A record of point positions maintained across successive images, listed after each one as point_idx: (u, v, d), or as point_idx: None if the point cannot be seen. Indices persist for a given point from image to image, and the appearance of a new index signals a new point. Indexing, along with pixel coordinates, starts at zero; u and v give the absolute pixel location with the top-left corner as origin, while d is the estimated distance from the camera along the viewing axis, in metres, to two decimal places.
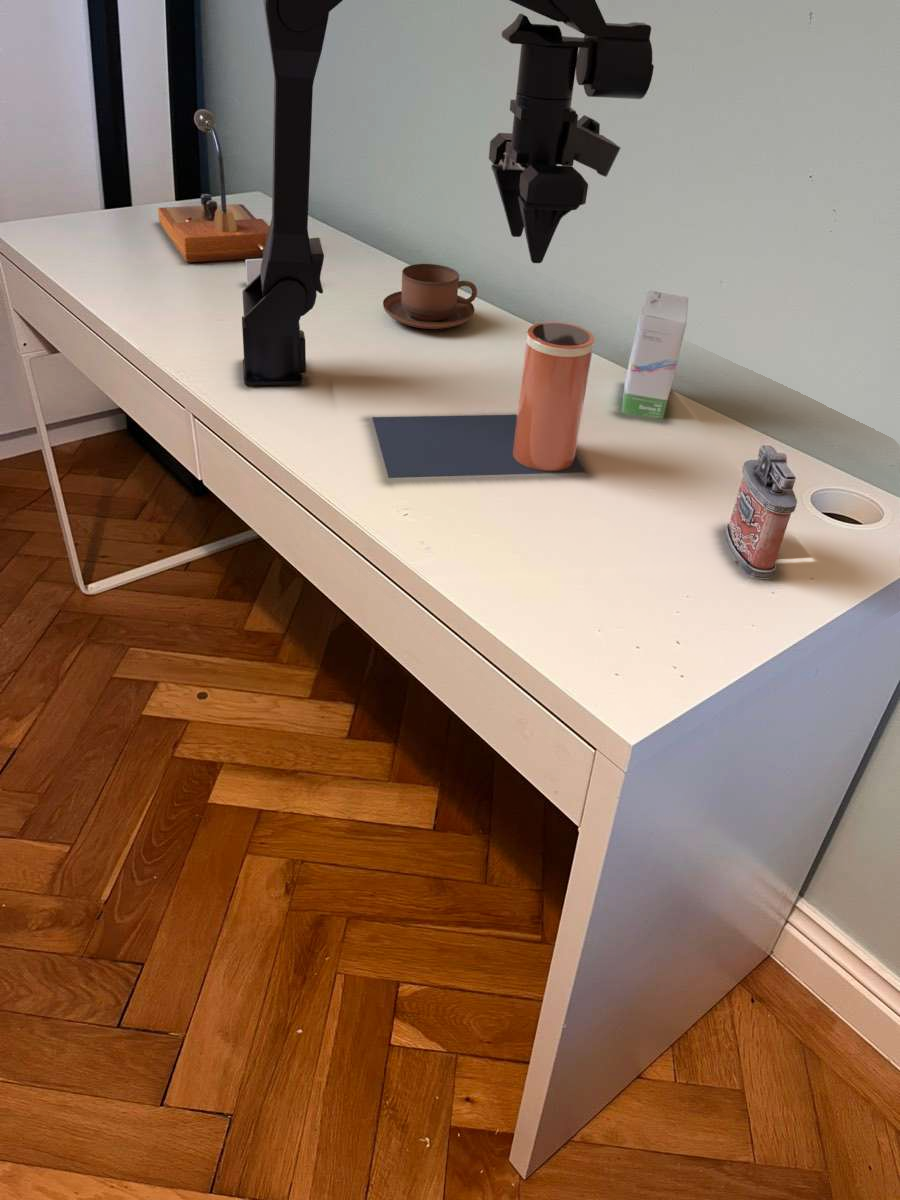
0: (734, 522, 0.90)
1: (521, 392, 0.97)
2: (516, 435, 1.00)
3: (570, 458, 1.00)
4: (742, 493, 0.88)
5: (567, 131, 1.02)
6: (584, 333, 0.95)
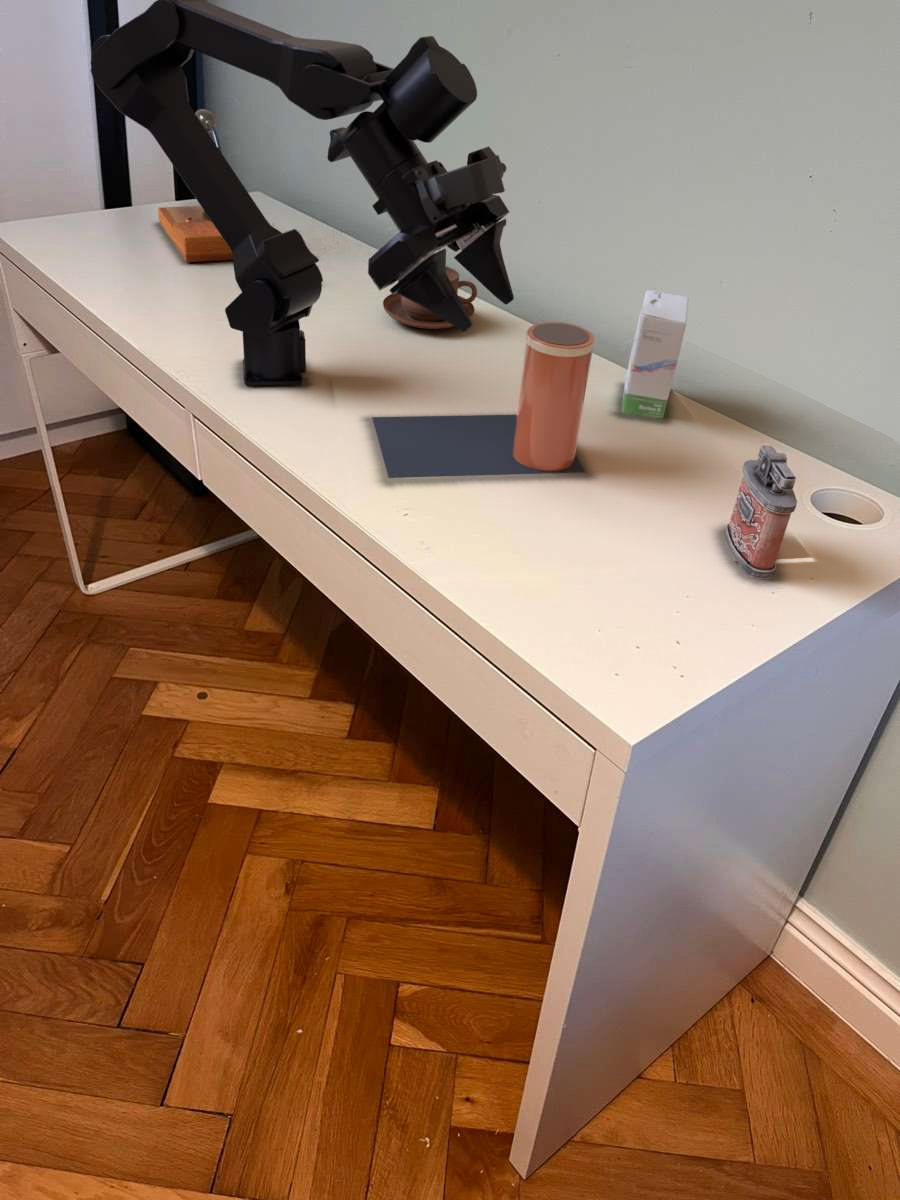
0: (734, 522, 0.90)
1: (521, 392, 0.97)
2: (516, 435, 1.00)
3: (570, 458, 1.00)
4: (742, 493, 0.88)
5: None
6: (584, 333, 0.95)
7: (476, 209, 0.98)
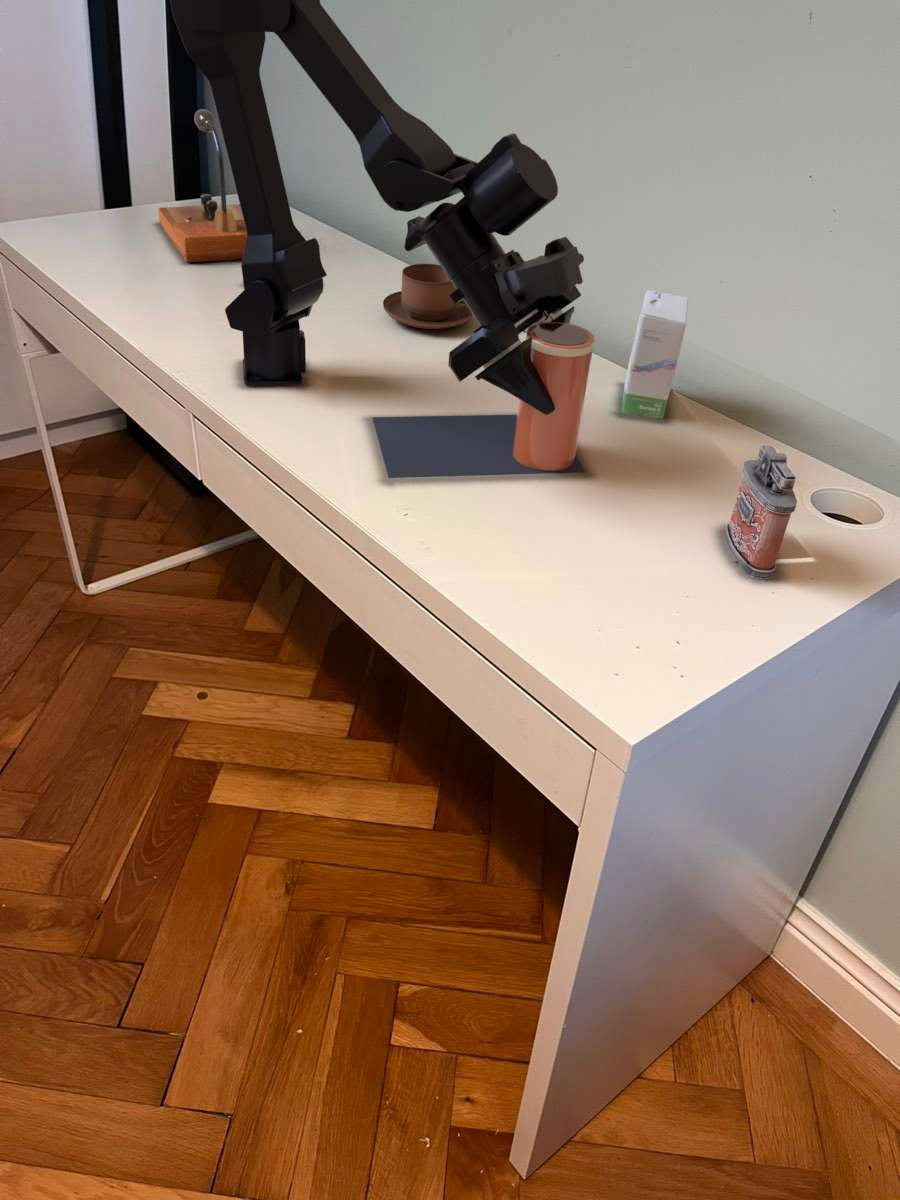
0: (734, 522, 0.90)
1: None
2: (516, 435, 1.00)
3: (570, 458, 1.00)
4: (742, 493, 0.88)
5: None
6: (584, 333, 0.95)
7: None
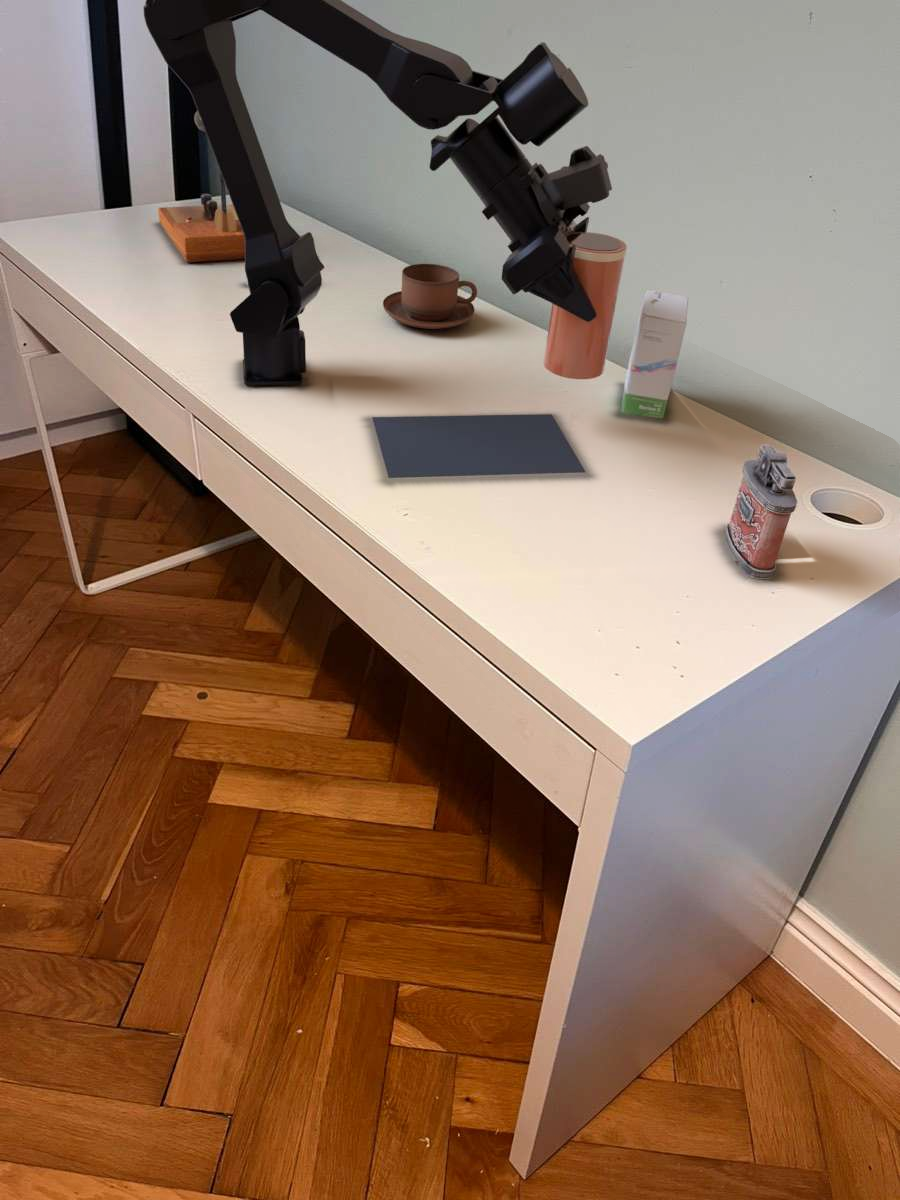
0: (734, 522, 0.90)
1: None
2: (551, 347, 1.02)
3: (603, 365, 1.03)
4: (742, 493, 0.88)
5: None
6: (613, 239, 0.98)
7: None
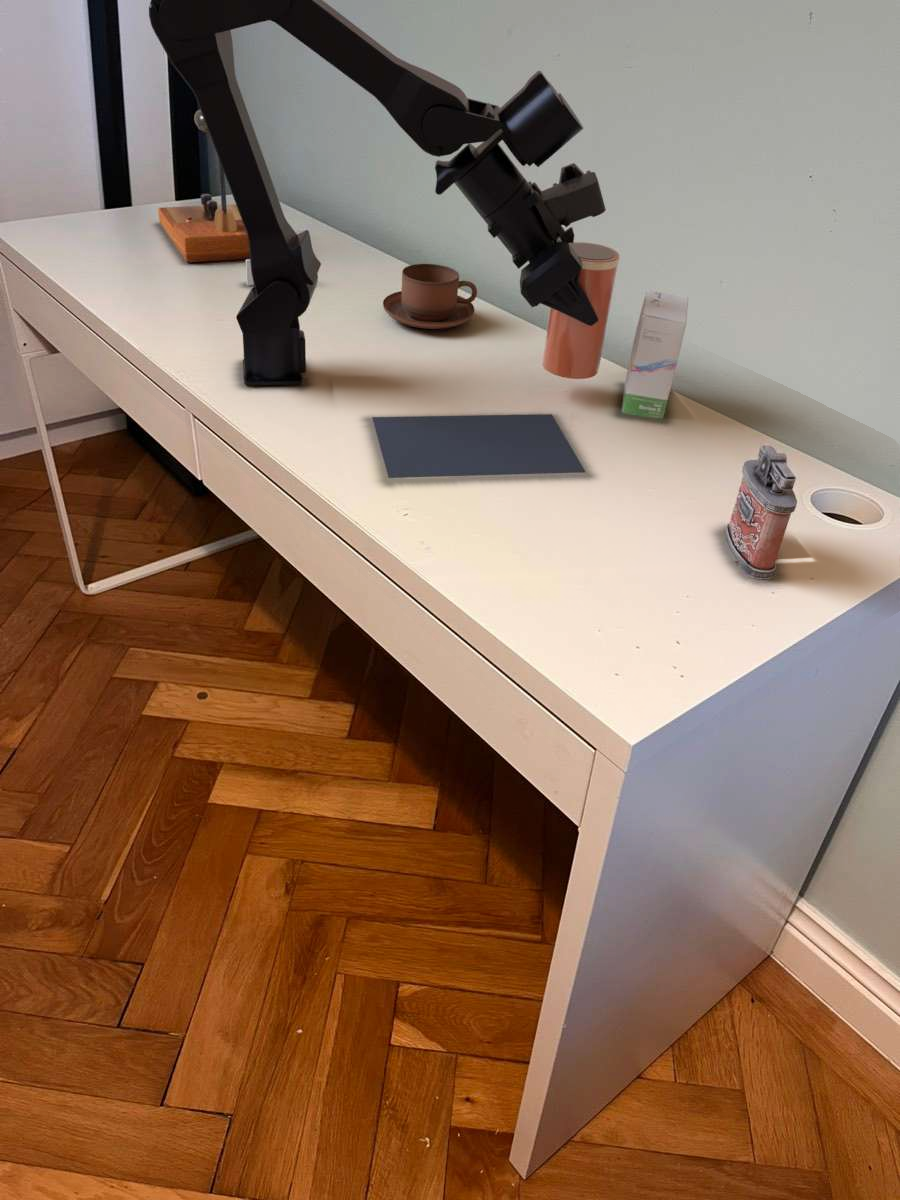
0: (734, 522, 0.90)
1: None
2: (553, 351, 1.09)
3: (599, 363, 1.11)
4: (742, 493, 0.88)
5: (539, 211, 1.00)
6: (604, 248, 1.06)
7: None
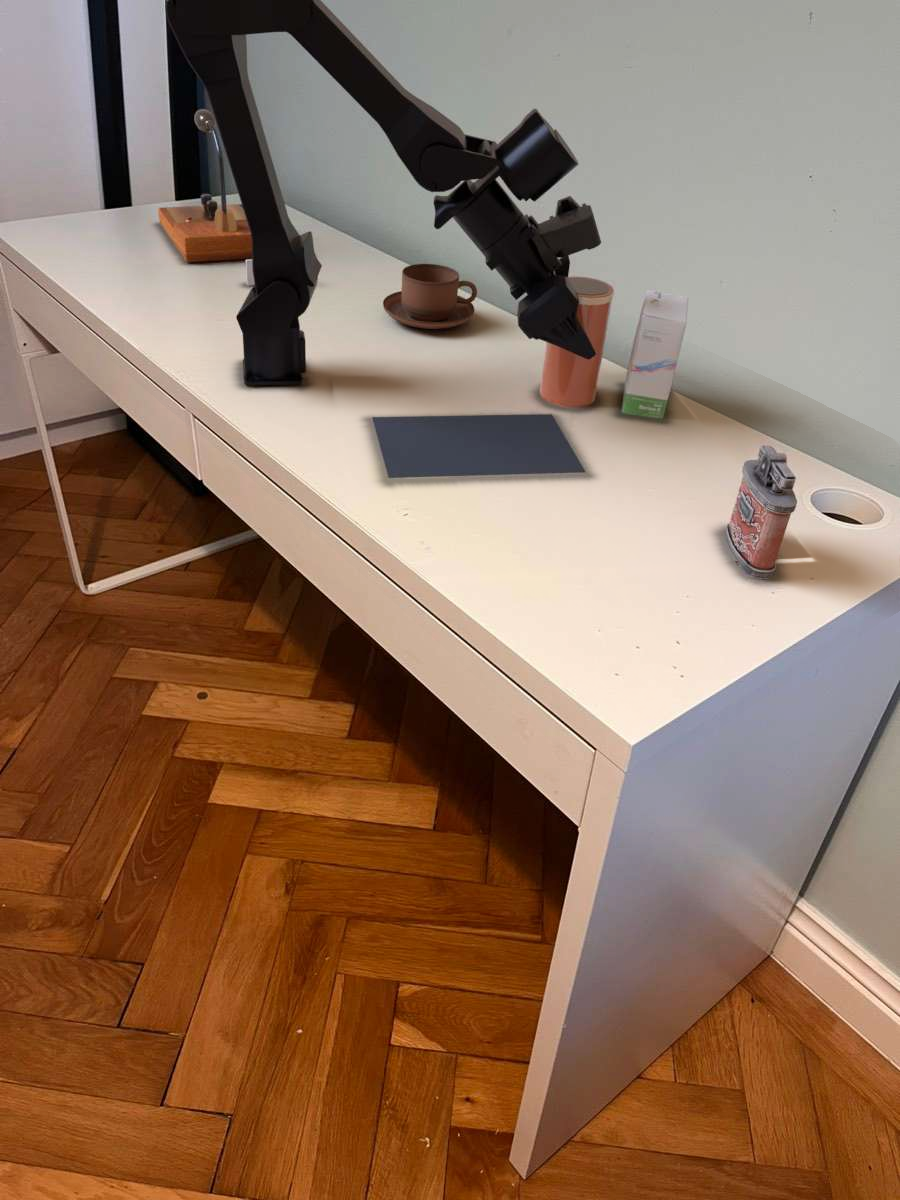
0: (734, 522, 0.90)
1: None
2: (550, 383, 1.11)
3: (595, 394, 1.14)
4: (742, 493, 0.88)
5: (535, 244, 1.02)
6: (599, 282, 1.08)
7: None
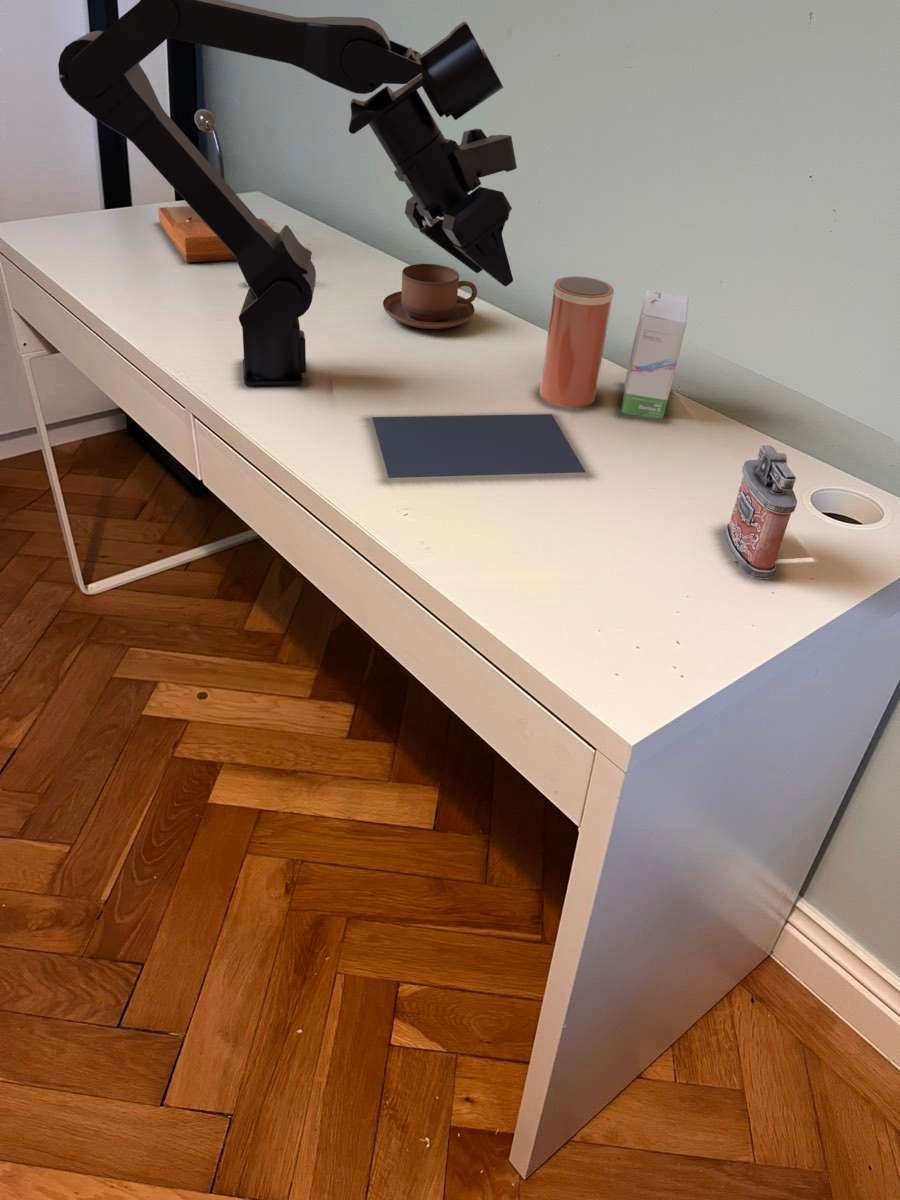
0: (734, 522, 0.90)
1: (555, 343, 1.09)
2: (550, 383, 1.11)
3: (595, 394, 1.14)
4: (742, 493, 0.88)
5: (456, 160, 1.00)
6: (599, 282, 1.08)
7: None
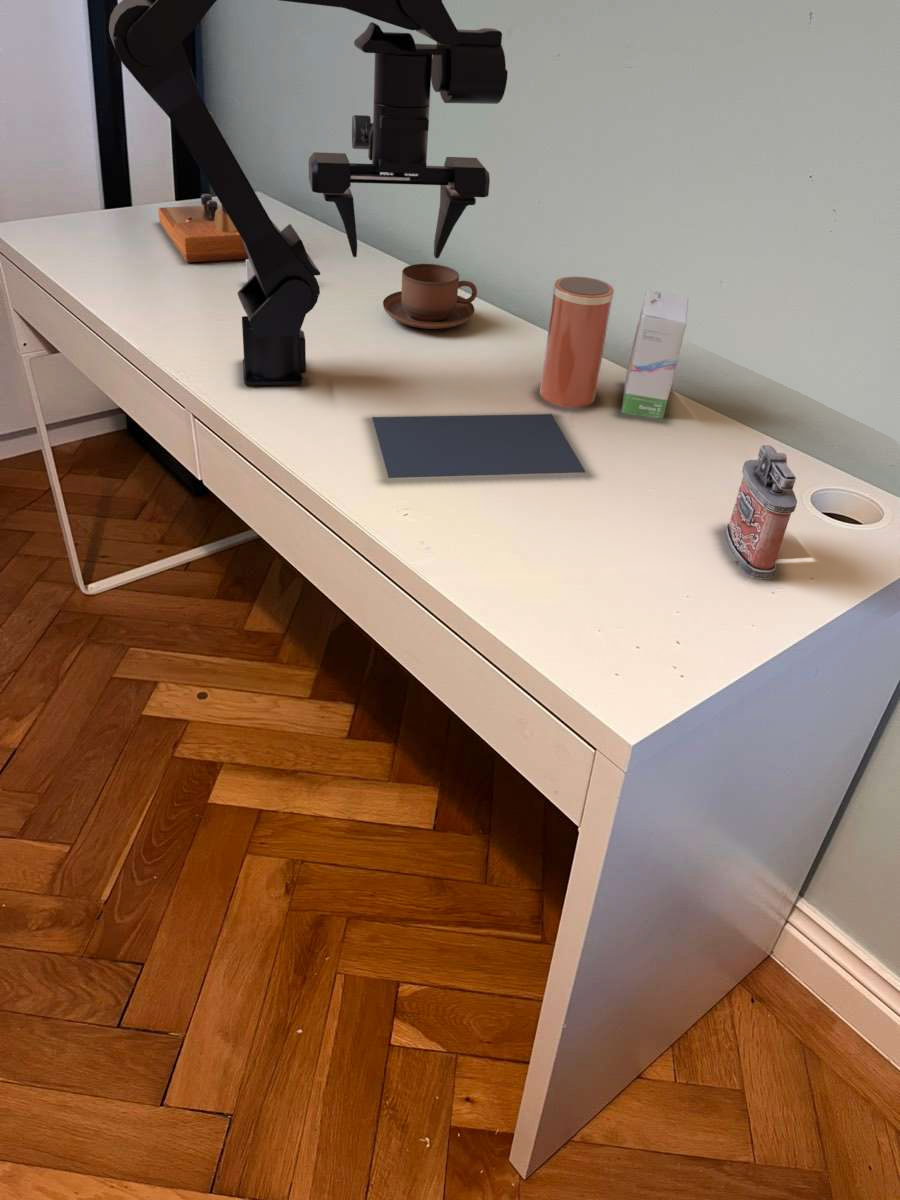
0: (734, 522, 0.90)
1: (555, 343, 1.09)
2: (550, 383, 1.11)
3: (595, 394, 1.14)
4: (742, 493, 0.88)
5: None
6: (599, 282, 1.08)
7: None
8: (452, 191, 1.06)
